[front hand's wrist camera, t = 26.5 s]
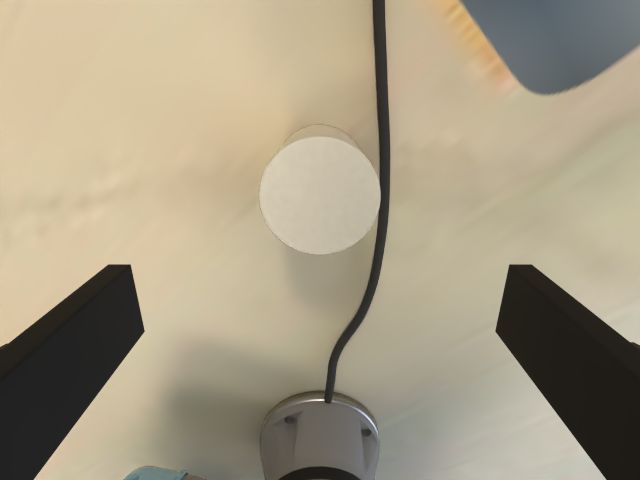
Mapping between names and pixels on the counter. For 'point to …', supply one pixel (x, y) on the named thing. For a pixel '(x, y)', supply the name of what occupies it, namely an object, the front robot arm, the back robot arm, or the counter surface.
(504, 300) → the front robot arm
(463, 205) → the counter surface
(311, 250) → the canister
